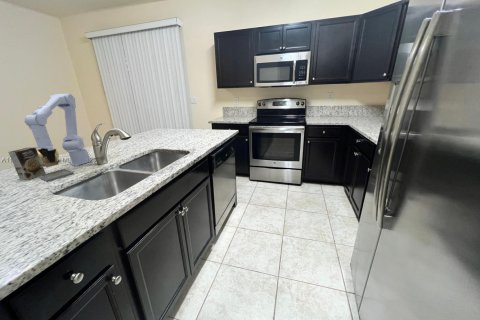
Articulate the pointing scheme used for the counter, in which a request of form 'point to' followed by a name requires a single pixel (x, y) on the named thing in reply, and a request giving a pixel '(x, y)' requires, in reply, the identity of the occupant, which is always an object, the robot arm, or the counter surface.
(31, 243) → the counter surface
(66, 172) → the slate gray tray
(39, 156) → the tan lumpy round piece
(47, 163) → the letter cube
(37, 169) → the coffee box
